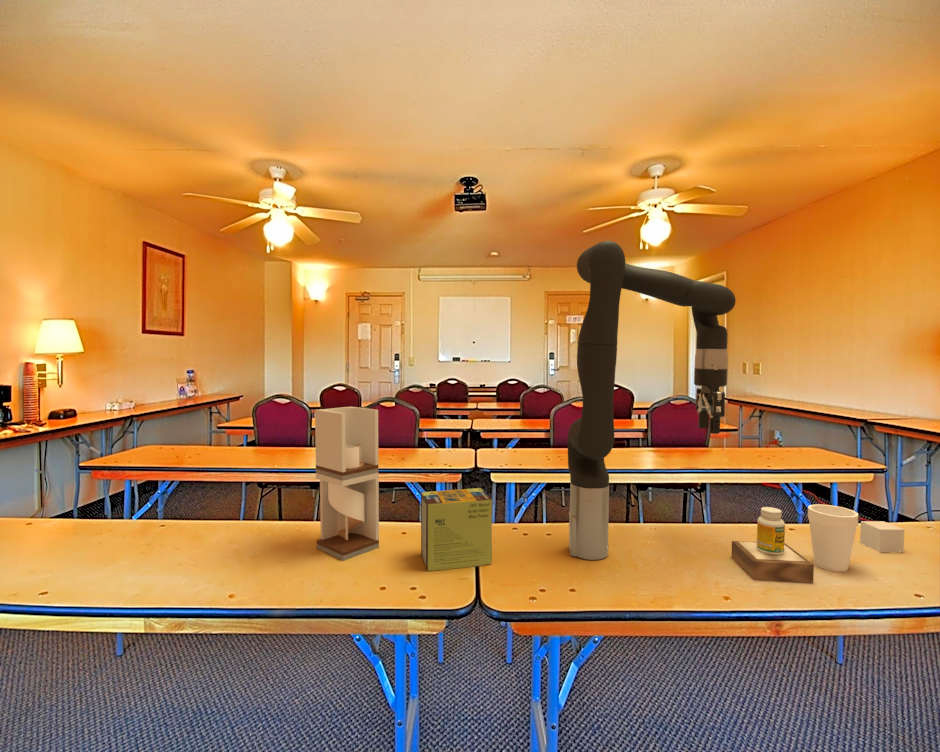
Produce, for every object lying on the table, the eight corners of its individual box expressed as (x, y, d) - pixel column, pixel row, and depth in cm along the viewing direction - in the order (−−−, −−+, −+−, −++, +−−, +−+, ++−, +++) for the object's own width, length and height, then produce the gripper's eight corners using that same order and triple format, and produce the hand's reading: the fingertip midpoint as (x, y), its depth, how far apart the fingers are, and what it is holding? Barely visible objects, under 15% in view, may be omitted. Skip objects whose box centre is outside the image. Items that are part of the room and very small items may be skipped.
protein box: (492, 565, 114) (492, 499, 113) (427, 572, 110) (427, 504, 109) (480, 547, 124) (480, 487, 123) (420, 553, 120) (420, 491, 119)
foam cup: (850, 561, 116) (852, 507, 115) (862, 577, 107) (864, 519, 107) (802, 554, 120) (804, 502, 119) (810, 569, 111) (812, 513, 111)
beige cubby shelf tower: (316, 548, 123) (315, 409, 122) (352, 536, 131) (350, 406, 130) (343, 560, 116) (341, 413, 114) (378, 547, 124) (378, 409, 122)
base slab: (753, 579, 106) (754, 560, 106) (731, 557, 118) (731, 539, 118) (813, 583, 105) (813, 563, 105) (784, 559, 117) (785, 542, 117)
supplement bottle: (763, 544, 115) (764, 504, 115) (788, 552, 111) (789, 510, 110) (751, 549, 112) (753, 508, 112) (777, 557, 108) (778, 514, 107)
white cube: (879, 553, 121) (880, 529, 121) (859, 544, 127) (860, 521, 127) (903, 553, 121) (904, 529, 121) (882, 543, 127) (883, 521, 127)
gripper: (686, 366, 131) (685, 426, 132) (704, 367, 117) (702, 434, 118) (716, 366, 130) (714, 427, 131) (737, 368, 116) (735, 435, 117)
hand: (708, 430), depth 124 cm, fingers open, 8 cm apart
